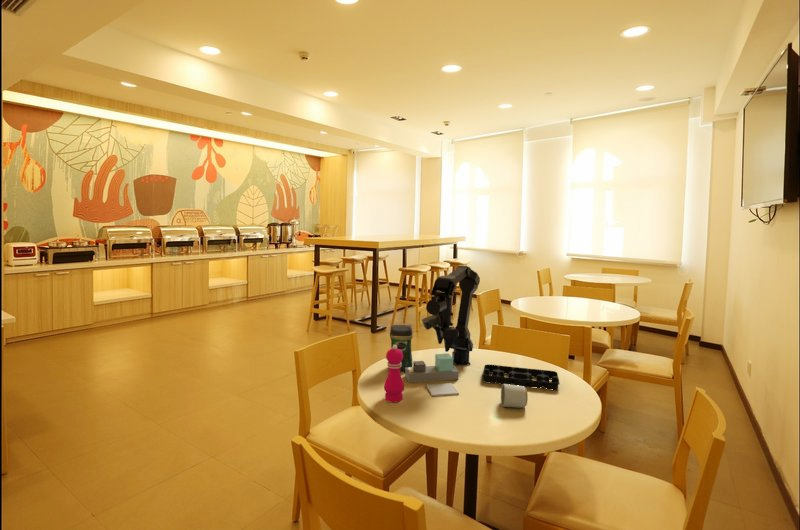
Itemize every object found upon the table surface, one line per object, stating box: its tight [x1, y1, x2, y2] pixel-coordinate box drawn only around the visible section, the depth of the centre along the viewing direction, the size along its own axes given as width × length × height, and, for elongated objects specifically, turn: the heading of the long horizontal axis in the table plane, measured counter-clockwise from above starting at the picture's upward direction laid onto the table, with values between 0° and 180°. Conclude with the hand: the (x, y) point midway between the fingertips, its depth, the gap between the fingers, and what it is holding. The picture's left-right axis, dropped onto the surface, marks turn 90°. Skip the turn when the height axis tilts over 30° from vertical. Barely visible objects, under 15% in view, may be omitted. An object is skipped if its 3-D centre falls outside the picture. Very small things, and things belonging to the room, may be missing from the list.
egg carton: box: [482, 364, 560, 391], centre depth 181 cm, size 18×30×4 cm, turn 88°
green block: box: [434, 352, 454, 372], centre depth 182 cm, size 6×6×7 cm
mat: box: [425, 382, 460, 397], centre depth 171 cm, size 10×9×1 cm
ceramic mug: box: [500, 384, 529, 409], centre depth 160 cm, size 11×8×8 cm
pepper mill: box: [383, 345, 405, 403], centre depth 162 cm, size 7×7×20 cm
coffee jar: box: [389, 324, 414, 372], centre depth 191 cm, size 10×8×19 cm
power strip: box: [404, 360, 459, 384], centre depth 182 cm, size 20×7×6 cm, turn 101°
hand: (443, 347), depth 181 cm, fingers open, 9 cm apart
